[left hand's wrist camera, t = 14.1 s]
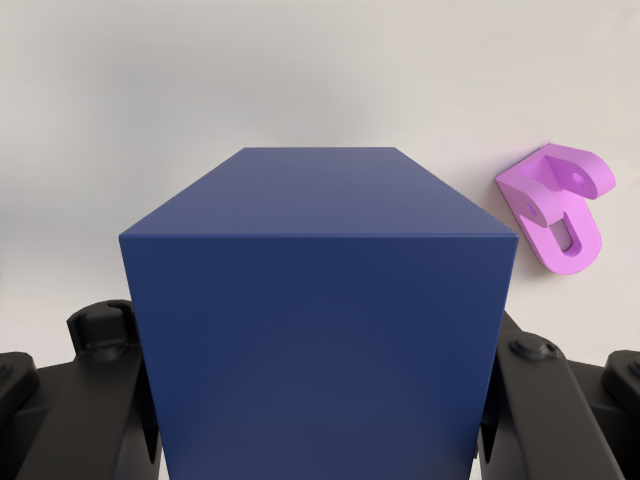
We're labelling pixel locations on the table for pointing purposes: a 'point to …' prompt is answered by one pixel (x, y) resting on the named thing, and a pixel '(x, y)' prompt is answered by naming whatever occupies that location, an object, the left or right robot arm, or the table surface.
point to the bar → (319, 317)
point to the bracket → (558, 203)
